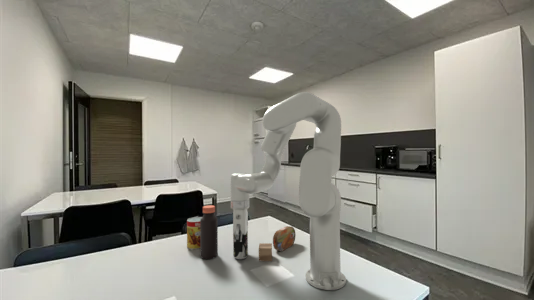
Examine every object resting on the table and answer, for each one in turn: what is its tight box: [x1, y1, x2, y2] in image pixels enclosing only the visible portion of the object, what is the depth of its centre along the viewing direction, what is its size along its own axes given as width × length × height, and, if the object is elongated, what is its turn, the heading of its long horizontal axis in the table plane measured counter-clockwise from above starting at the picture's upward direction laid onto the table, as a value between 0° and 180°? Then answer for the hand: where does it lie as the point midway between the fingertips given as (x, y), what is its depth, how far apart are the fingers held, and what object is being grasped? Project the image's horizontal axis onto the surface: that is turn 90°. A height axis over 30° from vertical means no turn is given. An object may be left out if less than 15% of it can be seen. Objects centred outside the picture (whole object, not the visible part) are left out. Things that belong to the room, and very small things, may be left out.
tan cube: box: [258, 242, 273, 262], centre depth 92 cm, size 5×5×5 cm
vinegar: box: [199, 204, 219, 260], centre depth 95 cm, size 7×7×20 cm
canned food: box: [186, 216, 203, 250], centre depth 106 cm, size 8×8×12 cm
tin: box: [272, 226, 296, 252], centre depth 103 cm, size 15×3×8 cm, turn 143°
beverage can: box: [232, 230, 249, 260], centre depth 94 cm, size 6×6×12 cm
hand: (240, 246), depth 94 cm, fingers open, 9 cm apart
